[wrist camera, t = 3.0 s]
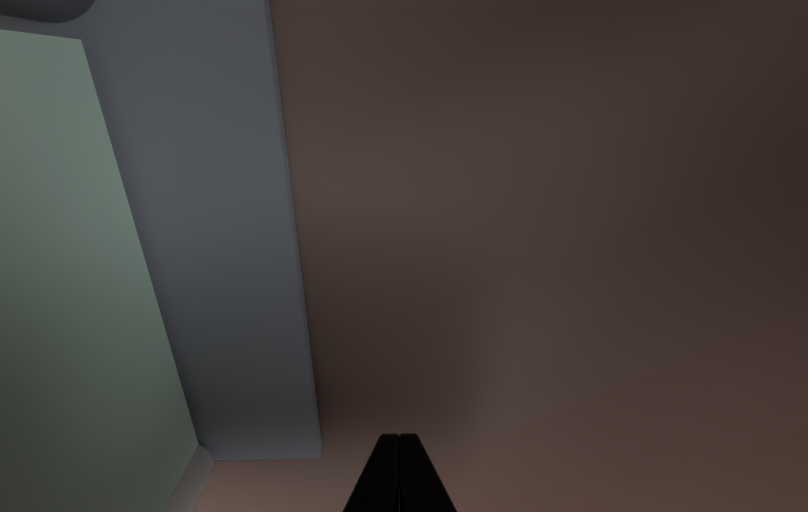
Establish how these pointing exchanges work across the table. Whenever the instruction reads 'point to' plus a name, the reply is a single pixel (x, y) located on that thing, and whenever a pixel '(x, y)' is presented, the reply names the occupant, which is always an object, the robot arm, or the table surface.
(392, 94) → the table surface
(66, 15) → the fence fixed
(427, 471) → the robot arm
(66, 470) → the fence gate
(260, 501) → the table surface
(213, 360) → the mat
